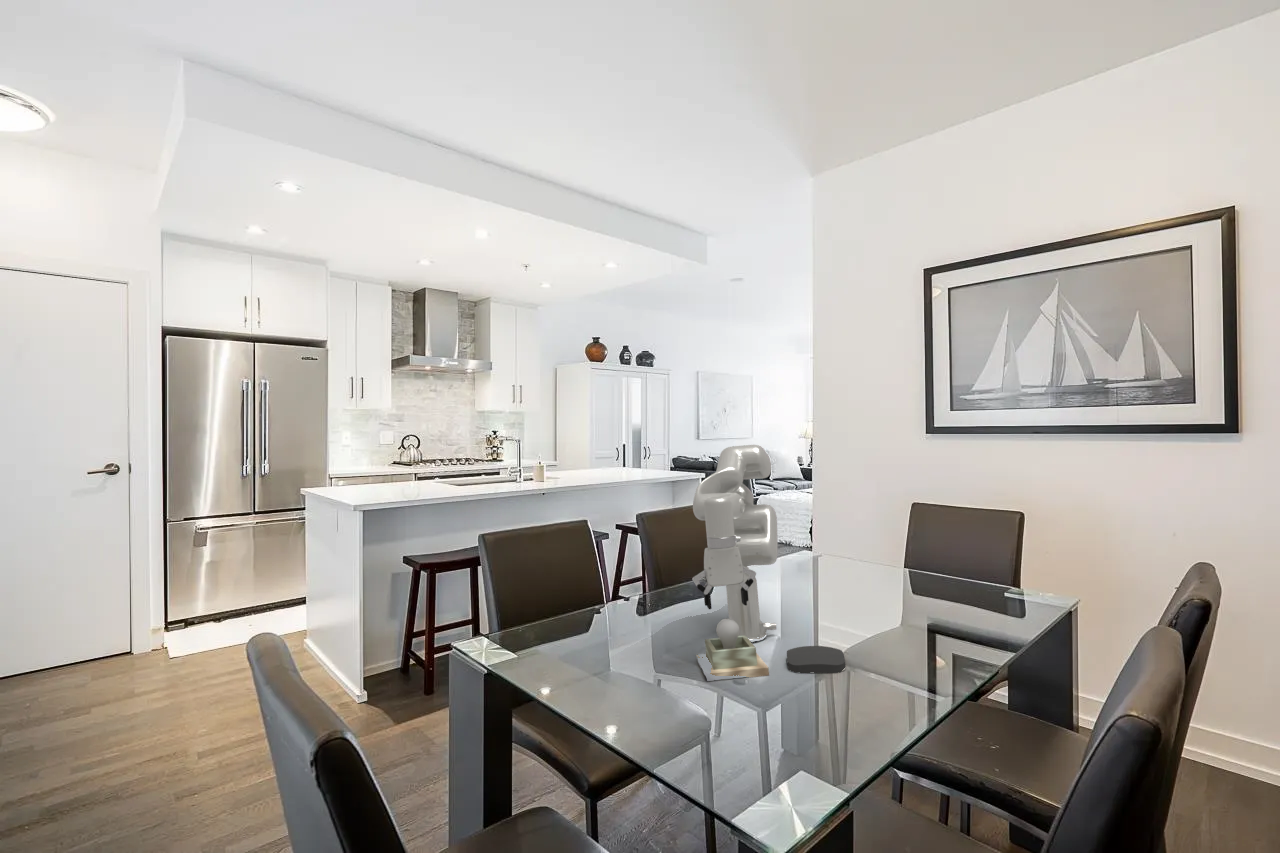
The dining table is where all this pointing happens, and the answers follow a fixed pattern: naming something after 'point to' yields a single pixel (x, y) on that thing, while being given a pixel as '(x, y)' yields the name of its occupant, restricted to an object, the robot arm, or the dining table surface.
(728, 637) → the lightbulb
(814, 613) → the dining table surface
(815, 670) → the media streaming box
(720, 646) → the base
